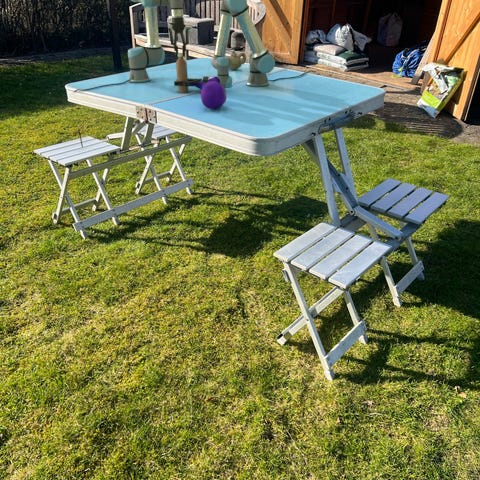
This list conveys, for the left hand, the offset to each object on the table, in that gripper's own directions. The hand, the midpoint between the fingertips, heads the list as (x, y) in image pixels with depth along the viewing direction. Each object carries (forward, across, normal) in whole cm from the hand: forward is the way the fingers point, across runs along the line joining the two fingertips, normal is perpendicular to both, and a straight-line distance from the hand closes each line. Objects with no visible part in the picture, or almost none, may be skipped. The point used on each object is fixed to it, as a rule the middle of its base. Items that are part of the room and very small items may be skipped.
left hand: (180, 56), depth 294 cm
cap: (-2, 0, 0) cm, 2 cm away
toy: (+22, +28, -40) cm, 53 cm away
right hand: (+16, -5, 0) cm, 17 cm away
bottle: (+22, 0, 0) cm, 22 cm away
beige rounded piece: (+22, +21, +82) cm, 88 cm away
